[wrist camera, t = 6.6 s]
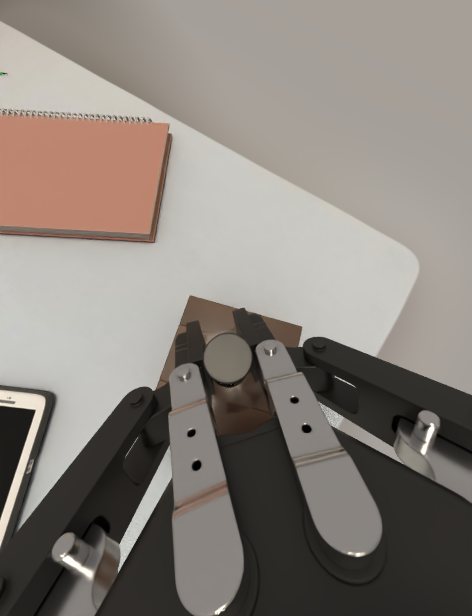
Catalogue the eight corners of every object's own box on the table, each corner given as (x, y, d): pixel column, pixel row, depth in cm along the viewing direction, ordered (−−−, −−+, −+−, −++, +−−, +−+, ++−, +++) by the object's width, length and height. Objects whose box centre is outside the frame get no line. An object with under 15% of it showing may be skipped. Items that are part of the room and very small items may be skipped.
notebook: (173, 130, 31) (169, 114, 29) (154, 243, 27) (148, 232, 25) (-35, 118, 31) (-53, 101, 29) (-93, 229, 26) (-118, 217, 24)
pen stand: (196, 308, 25) (189, 295, 21) (290, 335, 24) (302, 326, 20) (160, 409, 22) (145, 415, 18) (267, 442, 21) (275, 456, 17)
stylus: (221, 356, 23) (211, 326, 10) (242, 362, 23) (259, 339, 10) (215, 378, 23) (194, 376, 9) (236, 384, 22) (245, 391, 9)
